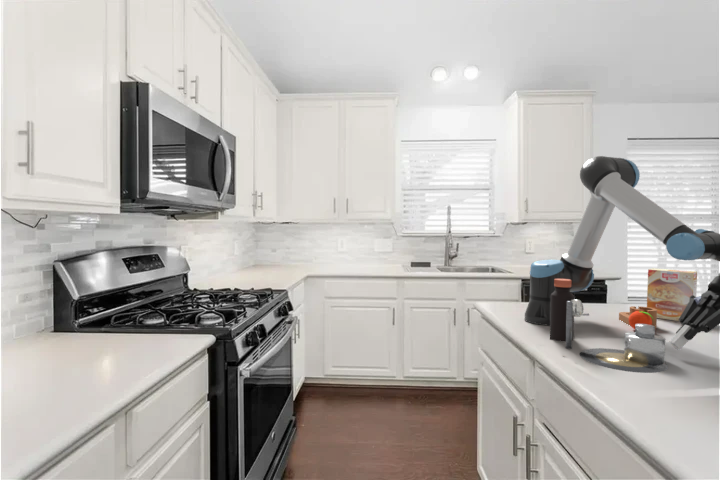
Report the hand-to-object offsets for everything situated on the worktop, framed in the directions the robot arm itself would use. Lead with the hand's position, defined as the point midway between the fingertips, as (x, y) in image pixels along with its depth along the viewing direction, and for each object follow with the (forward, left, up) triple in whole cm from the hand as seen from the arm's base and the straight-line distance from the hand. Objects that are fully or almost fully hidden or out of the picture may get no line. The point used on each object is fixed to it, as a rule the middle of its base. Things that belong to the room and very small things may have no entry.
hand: (674, 345), depth 114 cm
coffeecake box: (-49, +45, -5) cm, 66 cm away
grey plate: (0, -15, -5) cm, 16 cm away
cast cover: (0, -9, -3) cm, 10 cm away
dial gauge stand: (-11, -21, -5) cm, 25 cm away
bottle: (-21, -19, -5) cm, 29 cm away
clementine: (-32, +17, -5) cm, 37 cm away
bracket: (-42, +24, -5) cm, 49 cm away
